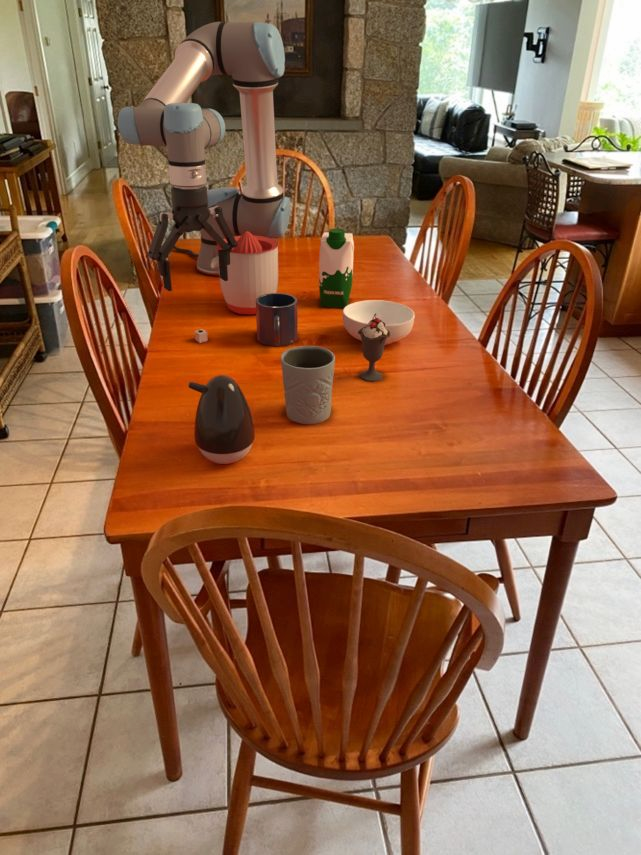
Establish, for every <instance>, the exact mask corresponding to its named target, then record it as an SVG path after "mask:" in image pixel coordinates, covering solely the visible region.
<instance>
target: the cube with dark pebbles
mask: <svg viewBox="0 0 641 855" xmlns="http://www.w3.org/2000/svg"><path fill="white" fill-rule="evenodd" d="M208 337H209V336H208V331H206V330H204V329H203V328H201V329H197V330H194V340H195V341H196V342H198V343H199V344H201V343H205V342H208V341H209V340H208V339H209V338H208Z"/></svg>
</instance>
